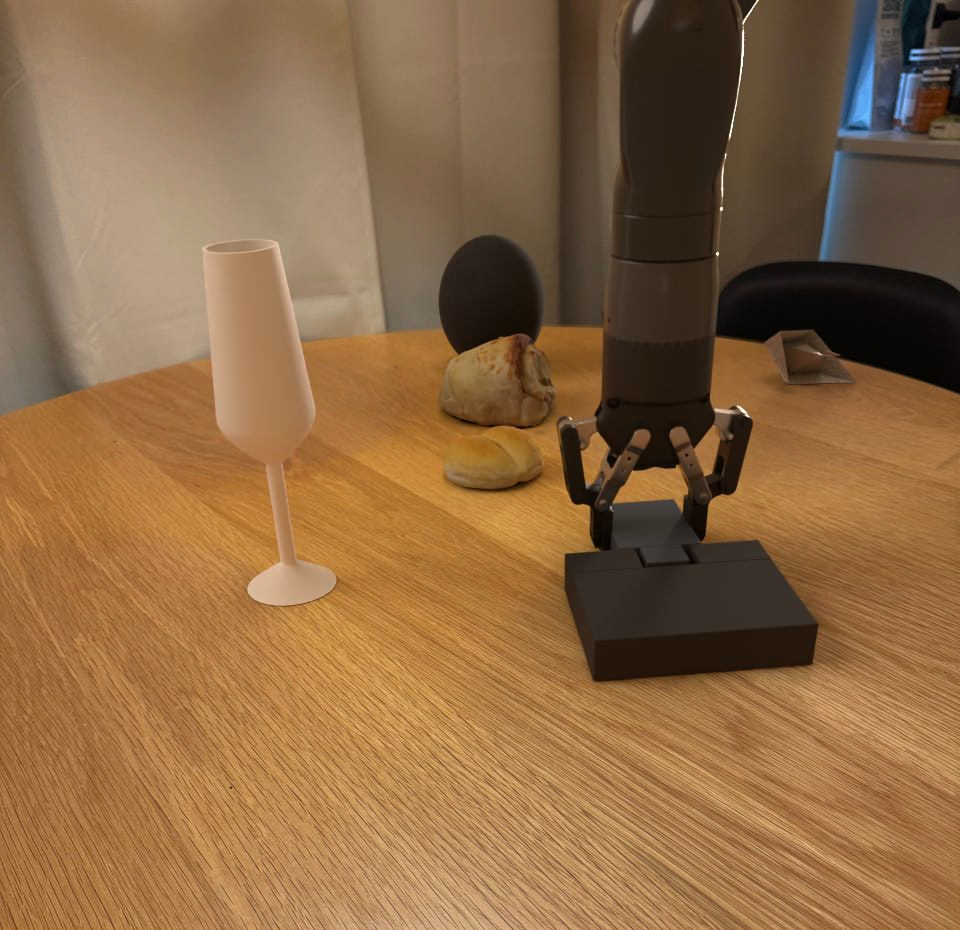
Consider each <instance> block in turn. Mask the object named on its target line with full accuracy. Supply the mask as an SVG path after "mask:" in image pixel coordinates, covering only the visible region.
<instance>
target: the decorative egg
mask: <svg viewBox="0 0 960 930" xmlns="http://www.w3.org/2000/svg"><path fill="white" fill-rule="evenodd" d="M545 311H546V294H545V287H544V283H543V279H542V276H541V273H540V271H539V268H538V267H537V264H536V263H535V261H534V259H533V258H532V257H531V255H530V254H529V253H528V251H527V250H526V249H525V248H524V247H522V246H521V245H520V244H519V243H517V242H516V241H514V240H513V239H512V238H509V237H506V236H504V235H498V234H483V235H479V236H476V237H473V238H471V239H469V240H468V241H466V242H465V243H464V244H462V245H461V246H459V248H458V249H457V250H455V252H454V253H453V255H452V256H451V257H450V259H449V260H448V262H447V264H446V266H445V268H444V270H443V272H442V276H441V280H440V284H439V290H438V313H439V319H440V324H441V326H442V330H443V332H444V335H445V337H446V339H447V341H448V343H449V345H450V346H451V348H452V349H453V350H454V352H455V353H456V354H457V355H458V356H459V355H460V354H462V353H464V352H465V351H469V350H471V349H474V348H476V347H478V346H480V345H482V344H485V343H488V342H490V341H493V340H497V339H498V338H500V337H509V336H512V335H515V334H525V335H527V336H528V337H530V338H531V339H532V341H533V343H534V345H535V344H536V342H537V341H538V338H539V336H540V334H541V331H542V327H543V324H544V320H545V314H546V313H545Z"/></svg>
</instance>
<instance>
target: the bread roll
mask: <svg viewBox="0 0 960 930" xmlns="http://www.w3.org/2000/svg"><path fill="white" fill-rule="evenodd" d="M542 454H543V453H542V451H541V449H540V447H539V444H538V443H537V442H536V440H535V439H534V438H533V437H532V435H530V434H529V433H527V432H526V431H524V430H523V429H520V428H519V427H518V428H517V427H510V426H500V425H496V426H493V427H491V428H488V429H486V431H484V432H483V433H482V434H481V435H464V436H463V435H462V436H460V437H458V438H456V439H454V440H453V441H451V443H449V445H448V446H447V448H446V449H445V451H444V454H443V456H442V467H443V471H444V473H445V475H446V477H447V479H448V480H449V481H451V482H452V483H454V484H456V485H459V486H462V487H465V488H470V489H480V490H481V489H482V490H501V489H505V488H509V487H512V486H514V485H516V484H517V483H526V482H528V481H531V480H532V479H534V478H535V477H537V476H538V475H539V474H540V473H541V472H542V471H543V470H544V467H545V463H544V458H543V455H542Z"/></svg>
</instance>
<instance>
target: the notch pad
mask: <svg viewBox="0 0 960 930" xmlns="http://www.w3.org/2000/svg"><path fill="white" fill-rule="evenodd" d="M689 560H690V561H689V565H677V566H663V567H649V568H643V567H642V565H641V563H640V560H639V558H638V556H637V554H636V552H635V550H634V549H621V550H607V551H600V550H595V551H582V552H581V551H579V552H567V553H564V592H565V596H566V599H567V602H568V605H569V608H570V611H571V614H572V617H573V621H574V624H575V627H576V630H577V633H578V636H579V640H580V643H581V645H582V646H581V647H582V650H583V653H584V655H585V659H586V661H587V665H588V668H589V671H590V675H591V678H592V680H593V682H599V681H612V680H625V679H636V678H637V679H638V678H651V677H663V676H678V675H689V674H691V675H692V674H702V673H715V672H728V671H741V670H742V671H743V670H754V669H756V670H757V669H765V668H767V669H769V668H780V667H781V668H783V667H794V666H805V665H806V666H807V665H813V663H814V656H815V650H816V643H817V637H818V631H819V625H820V624H819V622H818V621H817V619H816V618H815V617H814V616H813V614H812V612H811V611H810V610H809V608H808V607H807V606H806V604H805V602H804V601H803V600H802V599H801V597H800V596H799V594H798V593H797V591H796V590H795V589H794V588H793V586H792V585H791V584H790V582H789V581H788V580H787V578H786V577H785V575H784V574H783V573H782V571H781V569H780V568H779V567H778V566H777V565H776V563H775V562H774V560H773V559H772V557H771V556H770V554H769V553H768V552H767V550H766V549H765V548H764V546H763V544H762V543H761V542H760V541H759V539H748V540H736V541H735V540H734V541H722V542H721V541H720V542H709V543H701V544H691V545H689Z"/></svg>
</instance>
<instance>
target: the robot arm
mask: <svg viewBox="0 0 960 930" xmlns="http://www.w3.org/2000/svg"><path fill="white" fill-rule="evenodd" d="M758 1H759V0H624V1H623V3H622V4H621V7H620V9H619V11H618V13H617V16H616V20H615V23H614V27H613V33H612V53H613V59H614V63H615V67H616V69H617V72H618V89H619V90H618V161H617V164H616V167H615V170H614V173H613V178H612V184H611V193H610V209H609V210H610V213H609V243H608V244H609V246H608V252H609V253H608V263H607V270H606V274H605V275H606V276H605V283H604V291H603V292H604V294H603V305H602V306H601V307H602V308H601V320H602V325H603V326H602V359H601V360H602V361H601V364H602V365H601V393H600V394H601V395H600V401H599V404H598V406H597V408H596V410H595V411H594V414H593V415H589V416H585V417H580V418H574V419H573V418H572V417H570V416H568V415H563V416H560V417H559V418H557V420H556V425H555V426H556V432H557V438H558V445H559V451H560V458H561V464H562V471H563V477H564V478H563V479H564V483H565V485H564V486H565V489H566V491H567V494H568V496H569V498H570V501H571V503H572V504H574V505H575V506H580V505H584V506H587V507H589V537H590V539H591V542H592V544H593V546H594V549H598V551H607V550H611V532H613V510H612V508H611V505H612V503H614V502H615V500H616V497H617V495H618V493H619V492H620V489H621V488H623V487H624V486H625V485H626V484H627V482H628V479H629V478H630V476H631V473H632V472H641V471H646V470H649V469H653V468H659V469H664V470H669V469H671V470H672V469H677V467H678V469H679V472H680V474H681V476H682V478H683V480H684V483H685V485H686V487H687V490H688V491H687V494H683V500H682V501H683V502H682V503H683V504H682V513H683V516H684V517H685V519H686V520H687V522H688V524H689V525H690V526H691V527H692V529H693V531H694V532H695V534H696V535H697V537H698V539H699V540H700V542H701V543H702V542H703V541H704V539H705V538H706V536H707V526H708V515H709V505H710V502H712V500H713V499H715V498H717V497H720V496H731V495H734V493H735V492H736V491H737V489H738V484H739V480H740V477H741V473H742V468H743V465H744V461H745V457H746V454H747V450H748V445H749V442H750V439H751V434H752V430H753V427H754V420H753V419H752V418H751V416H750V415H749V414H748V413H747V412H746V411H745V410H744V409H743V408H742V407H741V406H739V405H732V406H731V407H729V408H728V409H727V408H714V407H713V405H712V401H711V392H712V391H711V390H712V380H713V368H714V357H715V345H716V335H717V333H716V332H717V322H718V321H717V320H718V312H719V311H718V309H719V298H720V276H719V275H720V273H719V250H720V238H721V225H722V213H723V197H724V168H725V167H724V166H725V162H726V158H727V152H728V147H729V143H730V138H731V134H732V129H733V125H734V124H733V123H734V117H735V112H736V107H737V103H738V102H737V101H738V97H739V90H740V82H741V76H742V67H743V57H744V41H745V39H744V37H745V36H744V34H745V31H744V23H745V21H746V20H747V18H748V17H749V15H750V13H751V12H752V10H753V8H754V7H755V5H756V4H757V3H758ZM713 426H715V434H716V436H717V437H718V438H719V442H718V447H717V451H716V455H715V458H714V459H715V460H714V463H713V468H712V470H711V473H709V474H707V475H705V474H704V471H703V468H702V466H701V464H700V461H699V459H698V457H697V454H696V451H695V449H696V448H697V446H698V445H699V444H700V443H701V441H702V440H703V438H704V437H705V436H706V435H707V434H708V432H709V431H710V430H711V428H712V427H713ZM595 433H598V434H599V436H600V437H601V438H602V440H603V441H604V442H605V444H606V445H607V449H606V451H605V453H604V455H603V456H602V459H601V461H600V465H599V470H598V472H597V474H596V476H595V478H594V480H593V482H592V483H591V482H588V481H586V478H585V471H584V464H583V463H584V462H583V456H582V452H583V451H585V450H587V449H588V448H589V446H590V444H591V442H590V440H591V437H592V436H593V435H594V434H595Z"/></svg>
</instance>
